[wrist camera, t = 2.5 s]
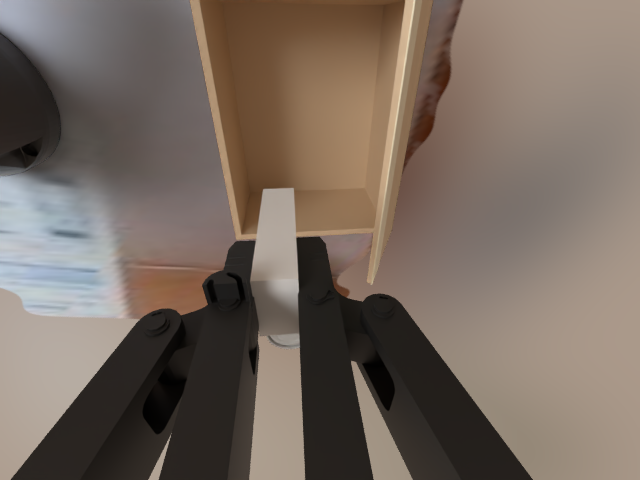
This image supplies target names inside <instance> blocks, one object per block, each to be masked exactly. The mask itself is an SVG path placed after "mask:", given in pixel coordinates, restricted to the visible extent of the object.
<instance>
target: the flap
mask: <svg viewBox="0 0 640 480" xmlns="http://www.w3.org/2000/svg"><path fill="white" fill-rule="evenodd" d="M432 4H433V0H405V7H404V15H403V22H402V29H401V37H400V44H399V51H398V58H397V66H396V73H395V80H394V88H393V95H392V102H391V109H390V117H389V124H388V131H387V139H386V146H385V153H384V160H383V168H382V175H381V182H380V190H379V197H378V204H377V211H376V219H375V226H374V233H373V241H372V248H371V255H370V262H369V270H368V277H367V283H370V284H371V286H372V284H373V281H374V279H375V276H376V273H377V271H378V268H379V262H380V260H381V258H382V255H383V252H384V250H385V247H386V244H387V242H388V239H389V236H390V234H391V231H392V227H393V221H394V215H395V210H396V204H397V199H398V193H399V188H400V182H401V177H402V171H403V165H404V160H405V154H406V149H407V143H408V138H409V132H410V127H411V121H412V115H413V110H414V104H415V99H416V93H417V88H418V82H419V76H420V71H421V65H422V60H423V54H424V49H425V43H426V38H427V32H428V26H429V21H430V15H431V10H432Z"/></svg>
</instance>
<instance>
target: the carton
mask: <svg viewBox="0 0 640 480" xmlns="http://www.w3.org/2000/svg"><path fill="white" fill-rule="evenodd" d="M190 5H191V10H192V15H193V20H194V25H195V31H196V36H197V41H198V46H199V51H200V56H201V61H202V66H203V72H204V77H205V82H206V87H207V92H208V97H209V102H210V107H211V113H212V118H213V123H214V128H215V133H216V138H217V143H218V149H219V154H220V159H221V164H222V169H223V174H224V179H225V184H226V190H227V195H228V200H229V205H230V210H231V215H232V220H233V225H234V231H235V236H236V240H244V239H256V236H257V229H258V222H259V215H260V208H261V201H262V194H263V189H278V188H294V204H295V223H296V237H302V236H321V235H340V234H360V233H374V226H375V219H376V211H377V204H378V197H379V190H380V182H381V175H382V168H383V160H384V153H385V146H386V139H387V131H388V124H389V117H390V109H391V102H392V95H393V88H394V80H395V73H396V66H397V58H398V51H399V44H400V37H401V29H402V22H403V15H404V7H405V0H190Z"/></svg>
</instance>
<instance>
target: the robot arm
mask: <svg viewBox="0 0 640 480" xmlns="http://www.w3.org/2000/svg"><path fill="white" fill-rule="evenodd" d="M59 138H60V118H59V113H58V109H57V106H56V103H55V101H54V98H53V96H52V94H51V92H50V90H49V88H48V86H47V85H46V83H45V81H44V80H43V78H42V77H41V75H40V74H39V73H38V71H37V70H36V68H35V67H34V66H33V65H32V64H31V62H30V61H29V60H28V59H27V58H26V57H25V56H24V55H23V54H22V53H21V52H20V51H19V49H17V48H16V47H15V46H14V45H13V44H12V43H11V42H10V41H9V40H7V39H6V38H5V37H4V36H3V35H1V34H0V177H1V176H9V175H14V174H18V173H21V172H24V171H26V170H29V169H30V168H32V167H34V166H36V165H38V164H40V163H41V162H43V161H45V160H46V159H47V158H48V157H49V156H50V155H51V154H52V153H53V152H54V150H55V149H56V147H57V144H58V142H59ZM202 287H203V290H204V293H205V296H206V300H207V303H208V305H207V306H205V307H204V308H202V309H199V310H197V311H194V312H191V313H188V314H185V315H180V314H179V313H178V312H177V311H176V310H172V309H159V310H156V311H153V312H151V313H149V314H147V315H145V316H144V317H143V318H141V319H140V320H139V321H138V322H137V323H136V325H135V326H134V327H133V328H132V330H131V331H130V332H129V333H128V335H127V336H126V337H125V338H124V340H123V341H122V342H121V343H120V344H119V346H118V347H117V348H116V349H115V351H114V352H113V353H112V354H111V356H110V357H109V358H108V359H107V361H106V362H105V363H104V365H103V366H102V367H101V368H100V370H99V371H98V372H97V373H96V374H95V376H94V377H93V378H92V379H91V381H90V382H89V383H88V384H87V385H86V387H85V388H84V389H83V390H82V392H81V393H80V394H79V395H78V397H77V398H76V399H75V400H74V402H73V403H72V404H71V405H70V407H69V408H68V409H67V410H66V412H65V413H64V414H63V415H62V417H61V418H60V419H59V421H58V422H57V423H56V424H55V425H54V427H53V428H52V429H51V430H50V431H49V433H48V434H47V435H46V436H45V438H44V439H43V440H42V441H41V443H40V444H39V445H38V447H37V448H36V449H35V450H34V451H33V453H32V454H31V455H30V456H29V458H28V459H27V460H26V461H25V463H24V464H23V465H22V467H21V468H20V469H19V470H18V471H17V473H16V474H15V475H14V476H13V478H12V479H11V480H148V479H149V477H150V475H151V473H152V471H153V469H154V467H155V465H156V463H157V461H158V459H159V457H160V455H161V453H162V451H163V449H164V447H165V445H166V443H167V441H168V439H169V437H170V435H171V438H170V441H169V445H168V448H167V452H166V456H165V459H164V463H163V466H162V470H161V474H160V477H159V480H249V474H250V460H251V448H252V435H253V423H254V409H255V398H256V385H257V372H258V360H259V345H258V331H259V334H260V336H270V335H284V334H297V333H299V338H300V363H301V385H302V386H301V387H302V411H303V435H304V459H305V480H374V479H373V474H372V469H371V464H370V459H369V454H368V449H367V443H366V438H365V433H364V428H363V423H362V417H361V412H360V407H359V402H358V397H357V391H356V386H355V381H354V376H353V371H352V366H351V361H355V362H357V365H358V367H359V369H360V371H361V373H362V375H363V377H364V379H365V381H366V384H367V386H368V388H369V390H370V392H371V394H372V396H373V398H374V400H375V402H376V404H377V406H378V408H379V410H380V412H381V414H382V417H383V418H384V420H385V423H386V425H387V427H388V429H389V431H390V433H391V435H392V437H393V439H394V441H395V444H396V445H397V448H398V450H399V452H400V453H401V456H402V458H403V460H404V462H405V464H406V466H407V468H408V470H409V472H410V474H411V477H412V478H413V480H533V479H532V478H531V477H530V475H529V474H528V473H527V471H526V470H525V469H524V467H523V466H522V465H521V463H520V462H519V461H518V459H517V458H516V457H515V455H514V454H513V453H512V451H511V450H510V449H509V447H508V446H507V445H506V443H505V442H504V441H503V439H502V438H501V437H500V435H499V434H498V433H497V431H496V430H495V429H494V427H493V426H492V425H491V423H490V422H489V421H488V419H487V418H486V417H485V415H484V414H483V413H482V411H481V410H480V409H479V407H478V406H477V405H476V403H475V402H474V401H473V399H472V398H471V397H470V395H469V394H468V392H467V391H466V390H465V388H464V387H463V386H462V384H461V383H460V382H459V380H458V379H457V378H456V376H455V375H454V374H453V373H452V371H451V370H450V368H449V367H448V366H447V364H446V363H445V362H444V361H443V359H442V358H441V356H440V355H439V354H438V353H437V351H436V350H435V348H434V347H433V346H432V344H431V343H430V342H429V340H428V339H427V338H426V336H425V335H424V334H423V333H422V331H421V330H420V328H419V327H418V326H417V325H416V323H415V322H414V321H413V319H412V318H411V316H410V315H409V314H408V312H407V311H406V310H405V308H404V307H403V306H402V304H401V303H400V302H399V301H398V300H396V299H395V298H393V297H391V296H389V295H385V294H373V295H370V296H368V297H367V298H366V299H365V300H364V301H363V302H362V301H357V300H352V299H348V298H346V297H344V296H342V295H341V294H339V293H338V292H337V291H336V289H335V288H334V285H333V281H332V275H331V270H330V265H329V260H328V254H327V249H326V243H325V242H324V241H323V240H322V239H321V238H320V237H302V238H296V223H295V204H294V188H278V189H263V194H262V201H261V208H260V215H259V222H258V229H257V236H256V241H237V242H235V243H234V244H233V245H232V246H231V247H230V249H229V250H228V254H227V259H226V262H225V267H224V270H222V271H218V272H216V273H214V274H212V275H210V276H209V277H208V278H207V279H206V280H205V281H204V283H203V284H202ZM171 433H172V434H171Z"/></svg>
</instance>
